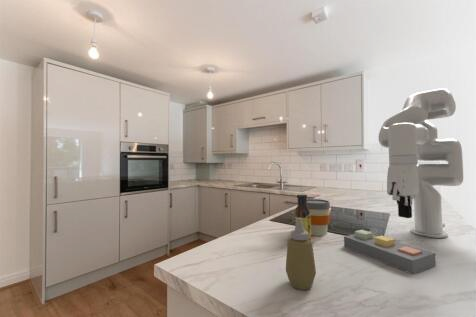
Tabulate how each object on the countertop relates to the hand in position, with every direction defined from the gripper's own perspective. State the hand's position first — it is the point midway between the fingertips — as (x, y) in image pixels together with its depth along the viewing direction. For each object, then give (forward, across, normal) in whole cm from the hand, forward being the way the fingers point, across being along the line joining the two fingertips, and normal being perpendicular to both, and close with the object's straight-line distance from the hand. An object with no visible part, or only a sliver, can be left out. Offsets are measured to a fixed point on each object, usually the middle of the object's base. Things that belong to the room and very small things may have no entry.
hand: (405, 217), depth 72 cm
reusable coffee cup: (+15, +3, -37) cm, 40 cm away
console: (+15, 0, -7) cm, 17 cm away
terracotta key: (+12, 0, +1) cm, 13 cm away
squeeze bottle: (+15, +39, -6) cm, 42 cm away
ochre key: (+11, 0, -7) cm, 13 cm away
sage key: (+11, 0, -15) cm, 19 cm away
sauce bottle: (+15, +16, -31) cm, 38 cm away
